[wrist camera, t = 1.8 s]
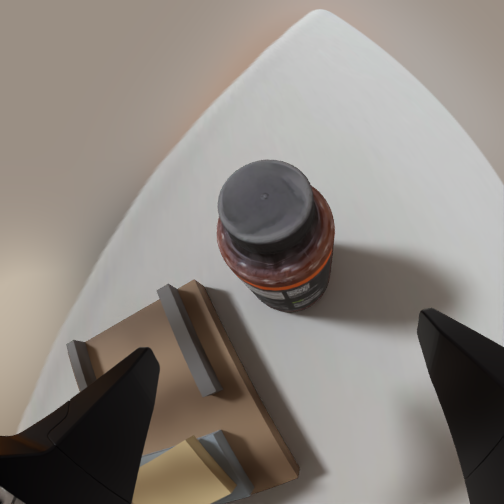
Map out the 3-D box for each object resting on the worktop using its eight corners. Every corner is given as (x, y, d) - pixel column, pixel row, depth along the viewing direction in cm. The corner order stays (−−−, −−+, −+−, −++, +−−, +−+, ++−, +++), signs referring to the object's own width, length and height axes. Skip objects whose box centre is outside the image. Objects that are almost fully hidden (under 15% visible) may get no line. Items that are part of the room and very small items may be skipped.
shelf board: (299, 467, 17) (294, 495, 12) (151, 509, 17) (120, 529, 12) (203, 286, 23) (176, 266, 19) (82, 354, 23) (43, 348, 19)
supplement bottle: (284, 224, 24) (258, 122, 13) (345, 267, 21) (368, 181, 11) (235, 281, 23) (169, 212, 12) (295, 330, 21) (274, 299, 10)
